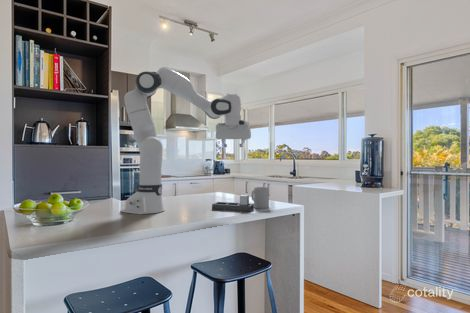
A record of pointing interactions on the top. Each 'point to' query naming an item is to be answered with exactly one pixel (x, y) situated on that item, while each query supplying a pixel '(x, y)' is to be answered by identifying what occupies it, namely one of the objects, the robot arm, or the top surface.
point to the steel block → (244, 200)
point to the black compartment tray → (232, 206)
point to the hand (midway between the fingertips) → (233, 147)
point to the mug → (260, 197)
